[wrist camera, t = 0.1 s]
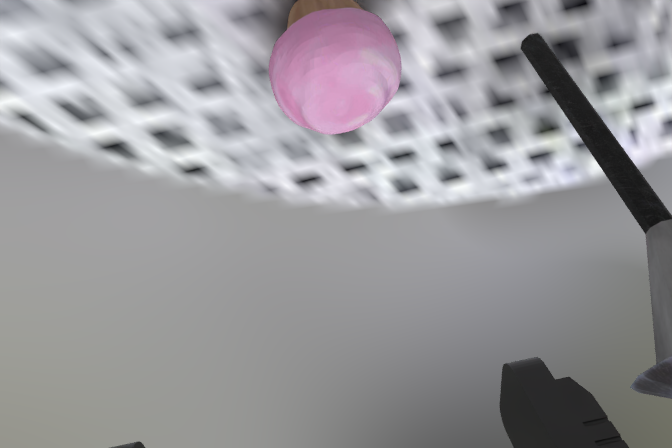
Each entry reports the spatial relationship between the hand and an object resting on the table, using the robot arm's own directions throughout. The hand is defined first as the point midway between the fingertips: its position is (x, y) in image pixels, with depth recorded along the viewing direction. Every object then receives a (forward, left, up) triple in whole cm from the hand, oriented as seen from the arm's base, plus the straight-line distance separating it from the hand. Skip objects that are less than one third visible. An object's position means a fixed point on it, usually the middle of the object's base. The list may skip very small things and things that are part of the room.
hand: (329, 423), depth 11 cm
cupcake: (+11, -4, -32) cm, 33 cm away
